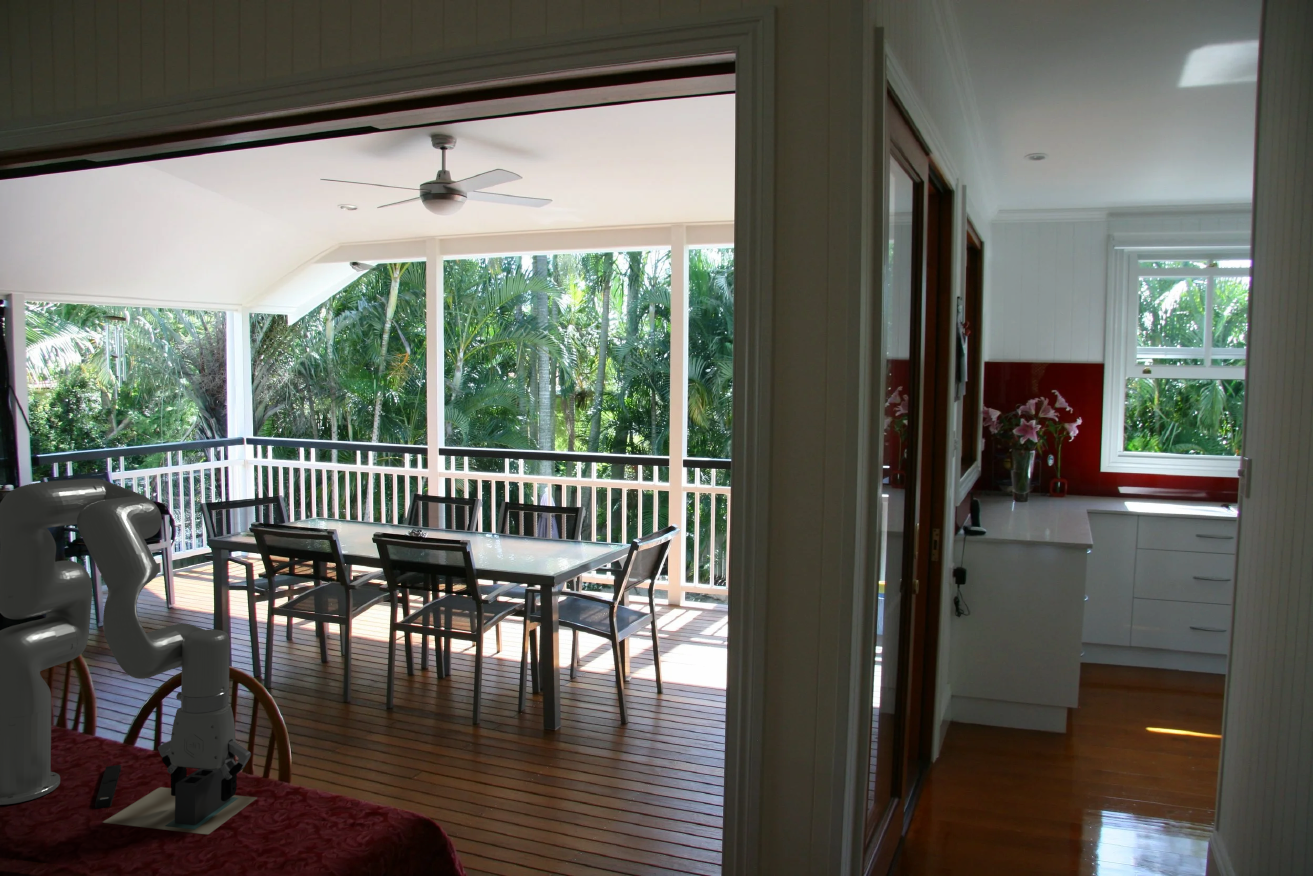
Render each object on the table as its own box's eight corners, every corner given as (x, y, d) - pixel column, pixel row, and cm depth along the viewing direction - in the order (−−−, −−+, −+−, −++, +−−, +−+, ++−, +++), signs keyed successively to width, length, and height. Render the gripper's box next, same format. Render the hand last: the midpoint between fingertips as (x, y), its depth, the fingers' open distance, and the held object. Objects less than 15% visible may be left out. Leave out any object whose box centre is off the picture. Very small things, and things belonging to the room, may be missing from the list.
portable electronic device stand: (106, 778, 168) (106, 763, 168) (121, 776, 170) (121, 761, 170) (94, 819, 152) (94, 802, 152) (111, 816, 154) (111, 800, 154)
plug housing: (194, 825, 148) (195, 785, 148) (174, 823, 148) (175, 783, 148) (230, 800, 157) (231, 762, 157) (211, 798, 158) (212, 760, 158)
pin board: (102, 830, 148) (102, 802, 148) (159, 795, 162) (160, 769, 162) (208, 843, 145) (208, 814, 145) (257, 805, 159) (257, 779, 159)
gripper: (145, 704, 150) (144, 800, 150) (236, 712, 147) (234, 810, 148) (175, 690, 157) (174, 781, 158) (262, 698, 155) (260, 791, 155)
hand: (203, 795), depth 153 cm, fingers open, 9 cm apart
